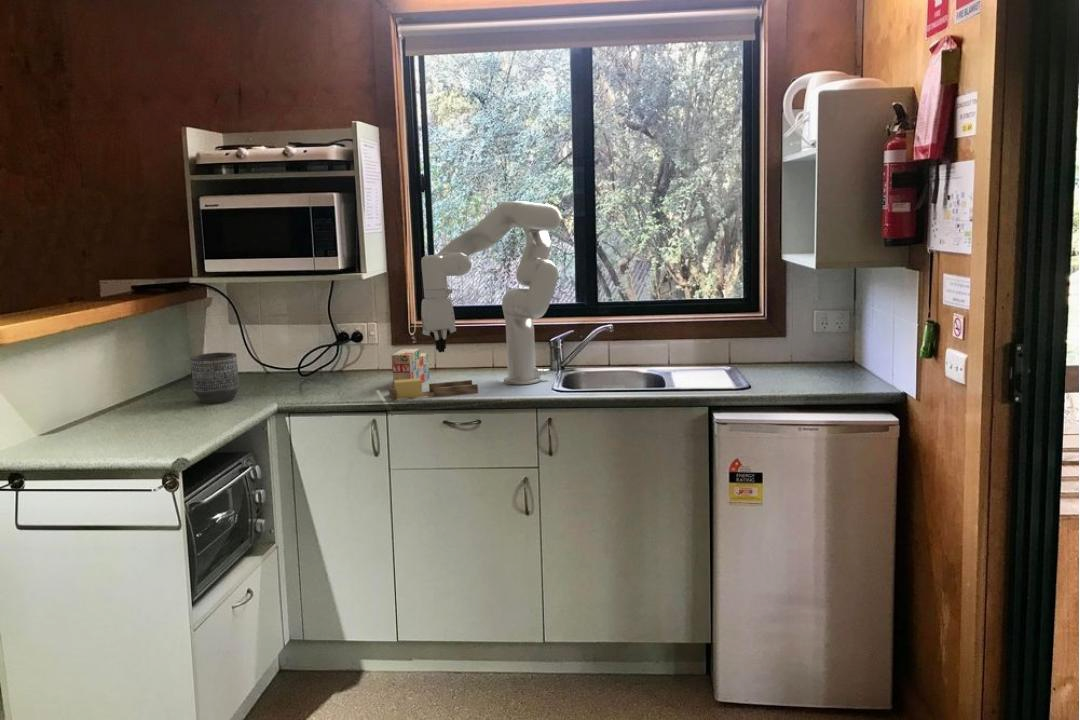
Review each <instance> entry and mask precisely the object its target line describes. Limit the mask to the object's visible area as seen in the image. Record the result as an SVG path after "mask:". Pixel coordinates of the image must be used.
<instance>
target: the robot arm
mask: <svg viewBox="0 0 1080 720" xmlns="http://www.w3.org/2000/svg"><path fill="white" fill-rule="evenodd" d="M561 222H562V215H561V213H560V210H559V209H558V208H557V207H555V206H554V205H552V204H545V203H537V202H536V203H535V202H530V201H524V200H523V201H522V200H517V201H516V200H514V201H513V200H512V201H511V200H510V201H503V202H501V203H499V204H498V205H497V206H496V207H495V208H493V209H492V210H491V212H489V213H488V214H487V215H486V216H485V217H484V218H483V219H481V220H480V221H479V222H478V224H476V225H475V226H473V227H472V228H470V229H469V230H467V231H465V232H464V233H462V234H460V235H459V236H457V237H455V238H454V239H452V240H451V241H450V242H448V243H447V244H446V245H445V246H444V247H443V248H442V249H441V250H439V251H438V253H437V254H428V255H424V256H423V257H421V261H420V262H421V272H422V274H421V275H422V284H423V285H422V286H423V297H424V298H423V299H422V300H421V327H422V335H425V336H430V337H432V338H433V339H434V342H435V350H436V351H437V352H438V353H444V352H445V351H446V350H445V349H446V348H447V345H446V344H447V343H446V339H447V337H449V335H450V334H452V333H454V332H456V331H457V328H456V318H455V311H454V306H453V301H452V297H450V295H451V294H453V289H452V288H451V289H450V288H449V287H448V277H462V276H464V275H467V274H468V273H469V272H470V271H471V268H472V265H473V264H472V263H473V262H472V260H471V258H470V256H471V255H473V254H475V253H478V252H482V251H485V250H488V249H491V248H492V247H494V246H495V245H496V244H497V243H498V242H499V241H500V240H501V239H503V237H504V236H505V235H507V234H508V233H509V232H510V230H511V229H513V228H522V230H523V232H524V234H525V237H526V238H525V240H526V241H525V242H526V243H525V246H524V251H523V253H522V256H521V259H520V261H519V265H518V267H517V270H516V275H515V277H516V281H517V282H518V284H519V285H521V286H524V287H526V288H513V289H510V290H508V291H507V292H506V293H505V294H504V296H503V298H502V301H501V307H502V312H503V317H504V323H505V339H506V361H507V376H506V377H504V378H503V383H505V384H509V385H531V384H536V383H540V382H541V380H542V378H541V376H542V375H544V376H545V375H547V376H548V375H550V369H549V368H539V367H537V366H536V345H535V344H536V342H535V326H534V323H533V320H535V319H536V320H537V319H540V318H542V317H544V315H545V314H546V313H547V310H548V309H549V307H550V304H551V301H552V299H553V295H554V292H555V289H556V287H557V283H558V280H559V270H558V267H557V265H556V264H555V262H552V261H551V260H549V257H550V252H551V247H552V243H551V237H550V234H549V232H552V231H554V230H556V229H557V228H558V227H559V226H560V224H561ZM527 287H528V289H527ZM438 331H440V333H441V334H440V336H439V333H438Z"/></svg>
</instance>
